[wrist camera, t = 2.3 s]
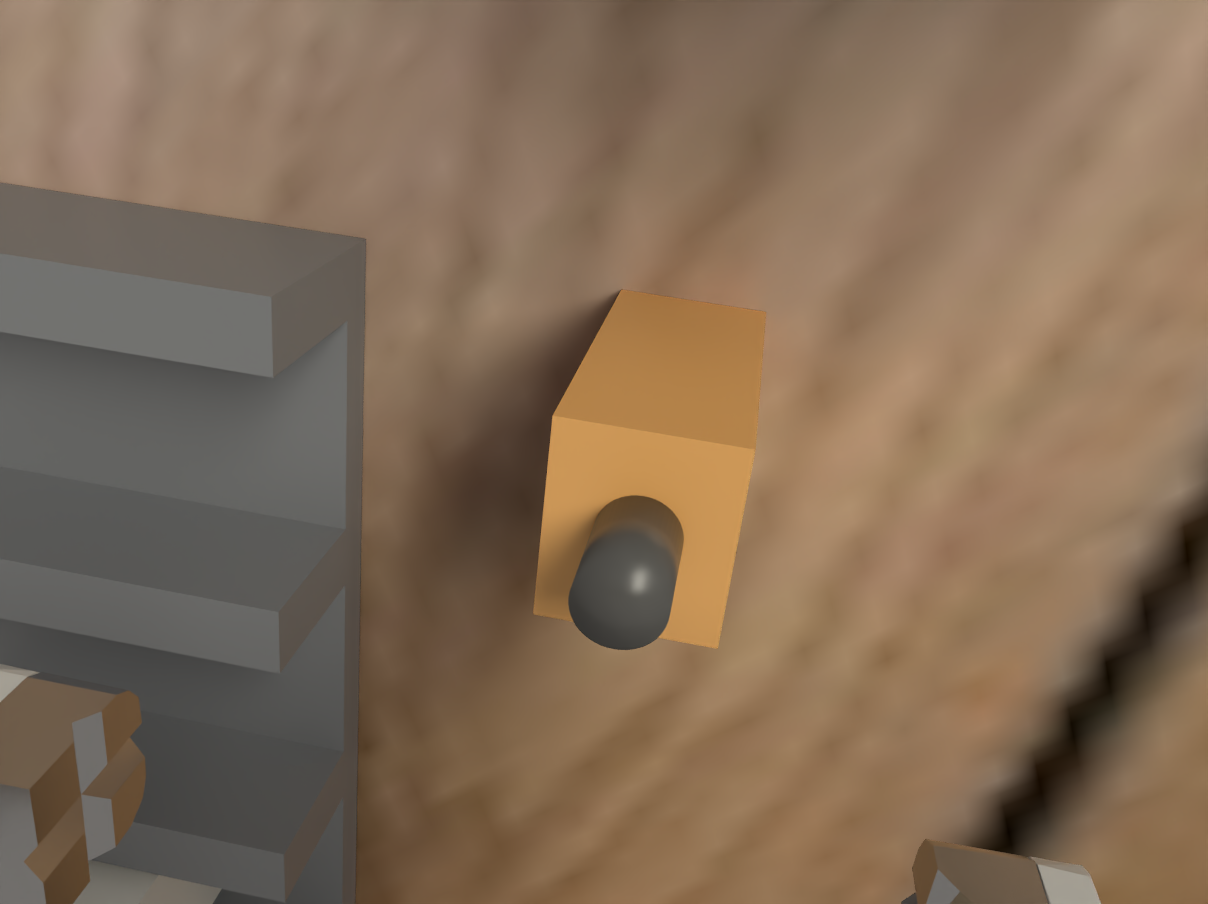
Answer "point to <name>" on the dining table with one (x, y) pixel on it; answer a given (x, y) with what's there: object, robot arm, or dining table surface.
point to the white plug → (140, 888)
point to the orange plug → (651, 473)
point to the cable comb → (193, 519)
